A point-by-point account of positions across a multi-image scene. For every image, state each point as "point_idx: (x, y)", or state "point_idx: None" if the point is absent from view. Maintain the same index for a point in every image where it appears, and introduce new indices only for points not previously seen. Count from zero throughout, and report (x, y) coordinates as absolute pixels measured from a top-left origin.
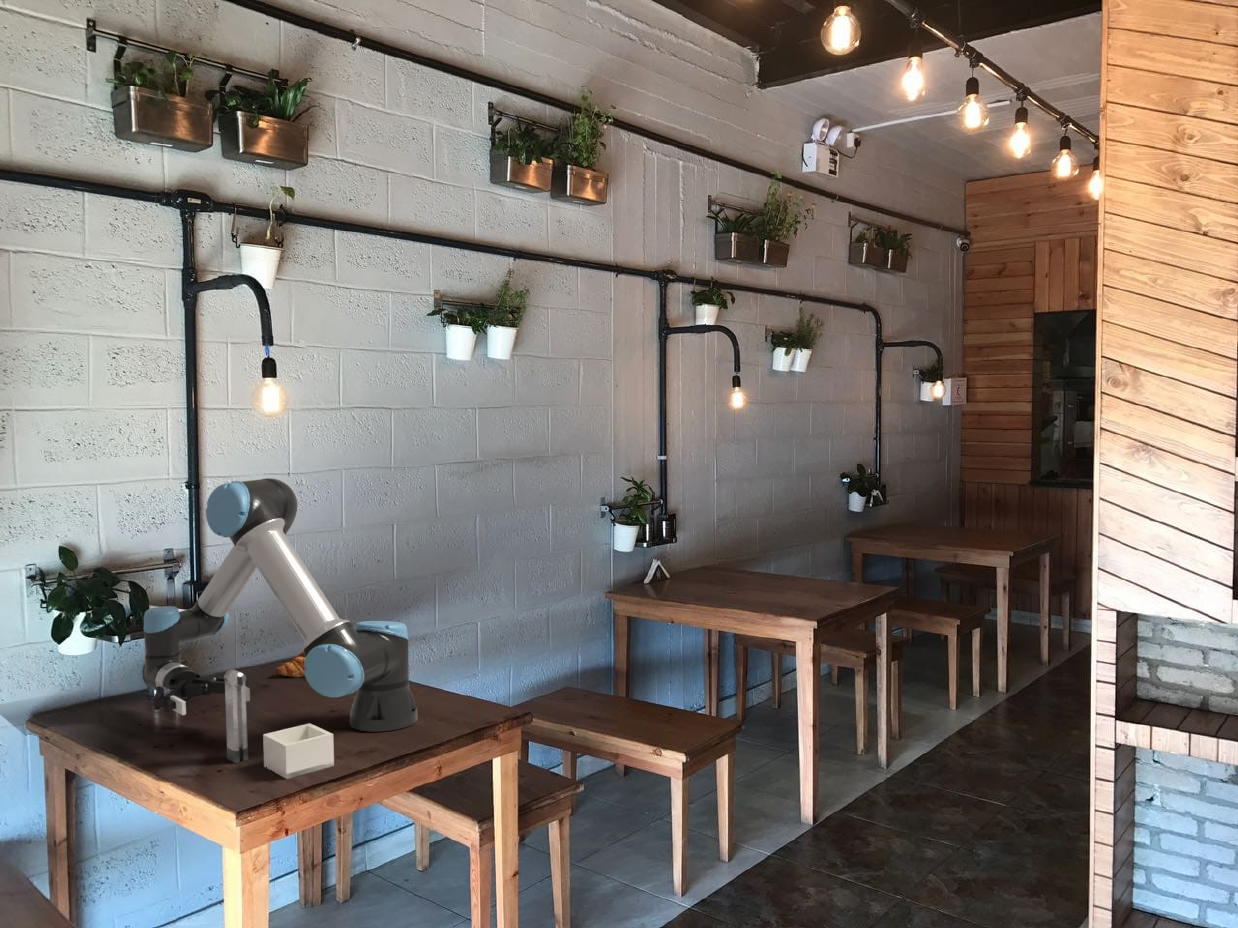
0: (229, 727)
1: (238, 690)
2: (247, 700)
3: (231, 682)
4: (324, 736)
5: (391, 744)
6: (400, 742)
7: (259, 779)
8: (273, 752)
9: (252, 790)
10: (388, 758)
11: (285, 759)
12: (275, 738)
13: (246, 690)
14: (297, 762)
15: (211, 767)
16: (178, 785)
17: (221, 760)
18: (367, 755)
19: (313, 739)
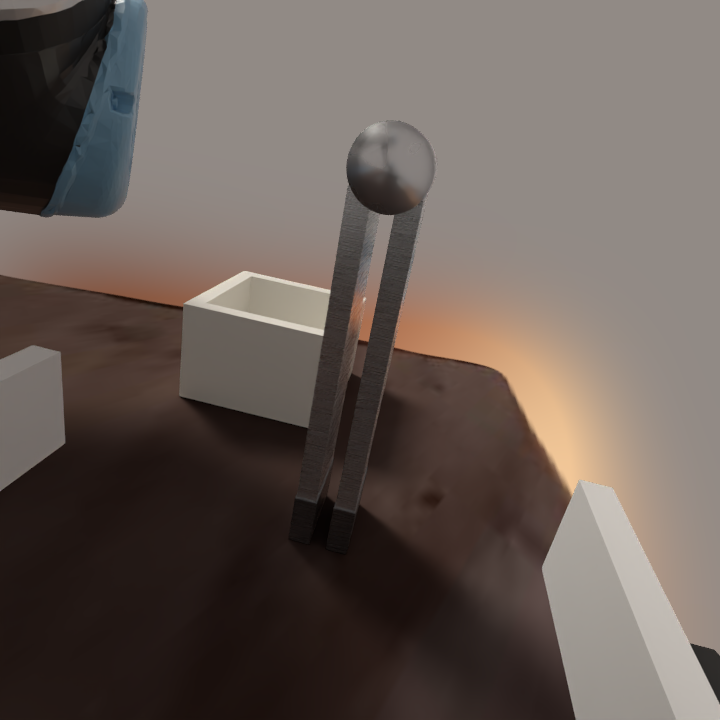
0: (378, 410)
1: (373, 231)
2: (60, 436)
3: (434, 180)
4: (267, 276)
5: (48, 317)
6: (28, 310)
7: (391, 403)
8: None
9: (436, 389)
10: (153, 307)
11: (359, 331)
12: None
13: (60, 363)
14: None
15: (438, 538)
16: None
17: (372, 559)
18: (146, 327)
19: (295, 283)
